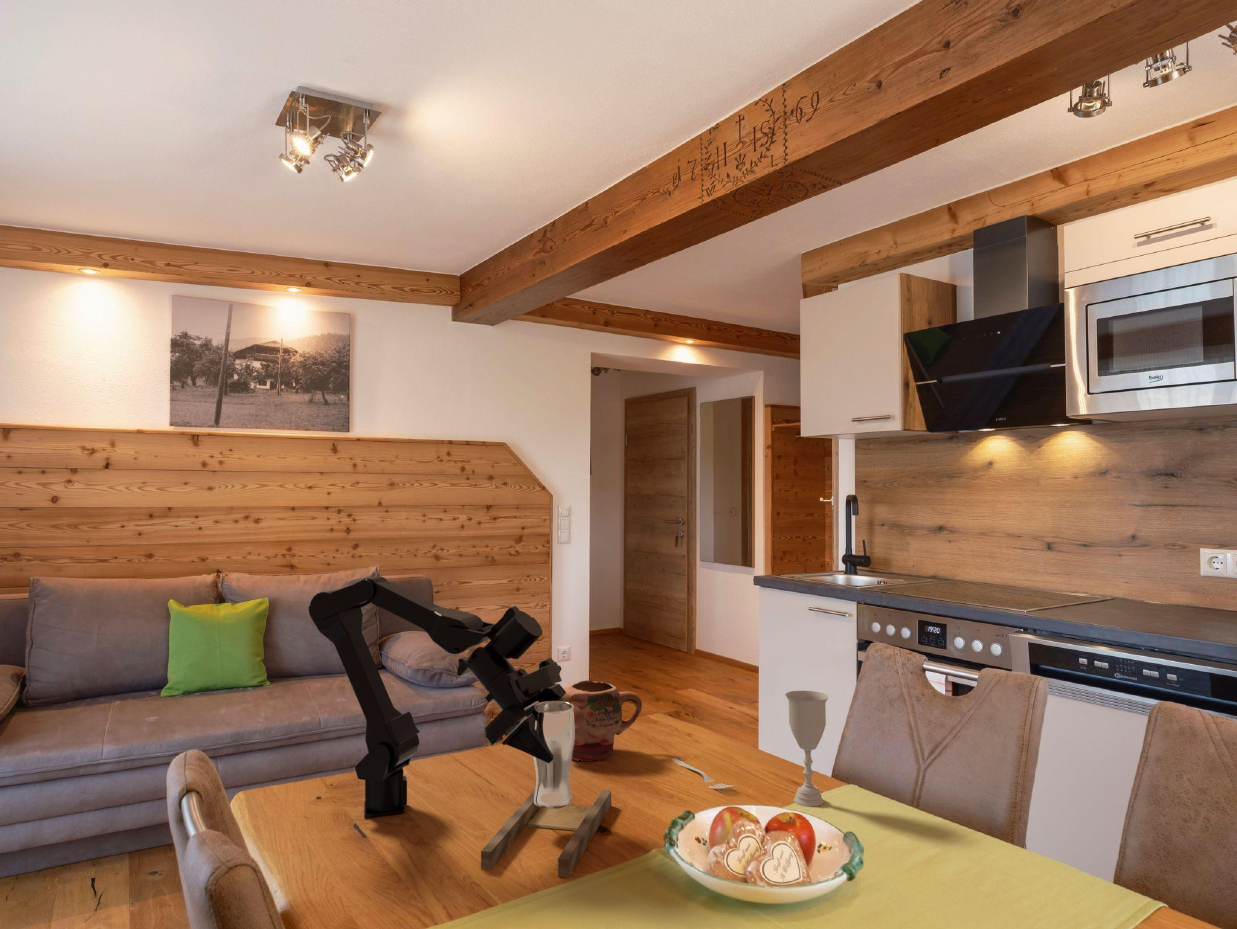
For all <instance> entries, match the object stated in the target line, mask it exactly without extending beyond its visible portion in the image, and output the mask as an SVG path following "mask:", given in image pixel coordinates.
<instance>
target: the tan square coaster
mask: <svg viewBox="0 0 1237 929" xmlns="http://www.w3.org/2000/svg"><path fill="white" fill-rule="evenodd" d="M592 806H593V805H580V804H571V803H570V804H569V805H568V806H566V807H563V808H559V809H544V808H540V809H539V810H538V811H537V813H536V814H535V815H534V816H533V817H532V819H531V820H530V821H529V822H528V824H527V826H526V827H528V828H529V827H530V828H531V827H533V828H540V829H541V828H542V829H551V830H563V831H575V832H576V830H577V829H578V827H579V825H580V824H581V822H582V821H583V819H584V818H585V816H586V815H587V813H588V812H589V810H590V809H591V807H592Z"/></svg>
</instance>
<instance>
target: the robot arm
mask: <svg viewBox="0 0 1237 929" xmlns="http://www.w3.org/2000/svg"><path fill="white" fill-rule="evenodd" d="M370 604H372V605H374V606H376V607H379V609H383V610H384V611H385V612H388V613H390V614H392V615H394V616H396V617H398V618H399V619H402V620H404V621H406V622H408V623H410V624H411V625H413V626H415V627H418V628H419V629H421V630H422V631H424V632H425V633H427V635H428V636H429V638H430V639H431V641H432V642H433V643H434V644H435V645H437V646H438V647H440V648H441V649H442V650H444V651H445V652H446V653H448V654H452V655H459V654H462V653H464V652H466V651H469V650H471V649H473V648H475V649H474V650H473V651H472V652H471V653H470V654H469V655H468V656H463V657H461V658H459V659H458V666H457V671H456V675H457V676H458V677H461V676H464V675H466V674H469V673H472V674H473V676H474V677H475V679H477V681H478V682H479V684H480V685H481V686H482V687H483V688H484V690H485V691H486V692H487V693H488V694H487V695H486V696H485V697H484V698H485V700H486V701H487V702H488V703H491V702H494V703H495V704H496V705H497V706H498V708H499V709H500V710H501V711H500V712H499V713H497V715H496V716H495V717H494V719H492V720H491V721H490V723H488V724H487V726H486V727H484V738H485V739H486V740H487V742H488V743H489V745H490V746H491V747H493V746H495V745H497V744H498V743H500V742H501V741H502V740H503V741H502V742H501V744H502V746H509V747H511V748H514V749H515V750H519V751H521V752H523V753H525V754H528V755H530V756H532V757H533V756H534V757H536V758H538V759H540V760H542V761H544V762H546V763H550V762H551V761H552V760H553V756H552V755H551V753H550V751H549V749H548V748H547V746H546V745H545V743H544V742H543V740H542V739H541V737H540V736H539V734H538V733H537V731H536V730H535V725H534V715H532V711H533V706H534V705H535V704H537V703H541V702H546V701H562V697H563V696H564V695H565V694H566V691H565V690H564V689H563V688H564V687H563V686H562V685H561V684H560V682H562V681H563V680H562V677H561V671H562V669H563V668H562V666H560V665H559V664H558V663H557V661H555V660H553V659H552V657H548V658H546V659H545V660H542V661H540V662H539V663H538V669H536V670H534V671H532V672H530V673H528V672H527V671H526V670H525V669H524V668H519V669H516V668H515V667H514V666H513V664H512V663H511V662H510V661H509V660H510V659H513V660H519V659H520V658H521V657H522V656H523V655H524V654H525V653H526V652H527V651H528V650H529V649H530V648H531V647H532V646H533V645H534V644H535V643H536V642H537V641H538V640H539V638H541V636H542V635H543V629H542V626H541V625H540V623H539V622H538V621H537V619H536V618H535V617H533V616H531V615H530V614H528V613H527V612H525V611H522V610H520V609H519V607H517V606H516V605H513V606H510V607H509V608H508V609H507V610H506V611H505V612H504V613H503V616H501V618H500V619H499V620H498V621H497V622H496V623H491V622H488V621H487V622H486V621H483V619H482V618H481V617H479V616H478V615H476V614H473V613H471V612H466V611H463V610H459V609H452V608H448V607H443V606H442V607H441V606H440V605H437V604H435V603H433V602H431V601H429V600H427V599H425V598H422V597H421V596H418V595H417V594H415V593H412V592H411V591H408V590H407V589H404V587H403V588H402V587H401V586H398V585H396V584H395V583H393V582H391V581H389V580H388V579H387V578H385V577H383V576H382V575H381V576H380V575H376V576H371V577H365V578H363V579H361V580H360V581H358V582H356V583H354V584H351V585H348V586H345V587H342V588H334V589H331V590H326V591H321V592H319V593H316V594H315V595H314V596H313V597H312V598H311V601H310V603H309V606H308V614H309V616H310V617H309V618H310V619H311V621H312V622H313V624H314V626H315V627H316V629H317V630H318V632H319V633H320V634H321V635H322V636H324V637H325V638H326V639H327V640H328V641H330V642H331V643H332V644H333V645H334V647H335V649H336V650H335V651H336V652H337V655H338V656H339V660H340V661H341V664H342V666H343V669H344V671H345V674H346V676H347V679H348V681H349V683H350V685H351V687H352V691H353V693H354V695H355V698H356V699H357V702H358V704H359V707H360V709H361V712H362V714H363V716H364V719H365V739H364V740H365V741H364V742H365V745H366V749H367V753H366V755H364V757H363V758H362V759H361V760H360V761H359V762H358V763H357V764H356V765H355V766H354V769H355V773H356V777H357V779H358V780H364V803H363V805H364V806H363V816H364V818H372V817H373V818H374V817H379V816H380V817H381V816H387V815H396V814H403V813H405V806H407V805H408V779H407V776H406V775H404V768H406V767H408V766H409V765H410V763H411V760H412V757H413V756H415V754H416V753H417V751H418V749H419V745H420V738H419V735H418V734H419V733H421V731H420V730H419V728H417V726H416V724H415V722H414V718H413V716H412V713H411V712H410V711H406V712H404V713H403V714H402V712H400V711H399V710H397V709H396V708H395V706H394V705H393V702H392V700H391V698H390V695H389V693H388V690H387V688H386V685H385V684H384V681H383V679H382V677H381V674H380V672H379V670H378V667H377V664H376V662H375V660H374V658H373V656H372V653H371V650H370V649H369V646H368V644H367V642H366V639H365V637H364V635H363V630H362V629H363V619H364V618H363V616H364V615H363V611H362V610H363V609H362V608H364V607H366V606H369V605H370ZM487 641H489V642H488V643H486V644H485V645H484V646H480V644H482V643H485V642H487ZM503 736H505V739H504V738H503Z"/></svg>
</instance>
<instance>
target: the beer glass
mask: <svg viewBox="0 0 1237 929" xmlns="http://www.w3.org/2000/svg"><path fill="white" fill-rule="evenodd" d="M532 715H534V725H535V730H536V731H537V733H538V734H539V736H540V737H541V739H542V740H543V742H544V743H545V745H546V746H547V748H548V749H549V751H550V753H551V755H552V756H553V760H552V761H551V762H550V763H546V762H544V761H542V760H540V759H538V758H536V757H534V756H532V758H533V763H534V769H535V775H536V776H535V777H536V778H535V779H536V780H535V782H536V783H535V789H534V790H535V795H534V804H535V805H536V806H538V807H540V808H544V809H559V808H563V807H566V806H568V805H569V804H570V805H571V803H572V801H573V797H572V796H573V795H572V791H571V790H572V789H571V784H570V782H571V781H570V773H571V766H572V760H573V759H572V756H573V750H574V742H575V720H574V706H573V705H572V704H571V703H568V702H563V701H546V702H541V703H537V704H535V705H534V706H533V711H532Z"/></svg>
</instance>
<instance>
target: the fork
mask: <svg viewBox="0 0 1237 929" xmlns="http://www.w3.org/2000/svg"><path fill="white" fill-rule="evenodd" d="M673 760H674V761H673ZM671 761H672V762H673V763H675V764H677V765H679V766H681V767H683V768H685V769H688V770H691V771H694V772H697V773H699V774H700V775H701V776H702V777H703V778H704V783H710V782H715V781H716V780H715V779H713V778H711V777H709V775H707V774H706V773H705V772H704V771H702V770H700V769H698V768H695V767H694V766H691V765H690V764H688V763H685V762H684V761H682V760H681V761H680V759H679V760H678V758H674V757H673V758H671ZM708 787H709V788H711V789H715V790H723V789H730V788H734V787H735V788H736V787H737V785H733V784H731V785H730V784H724V783H717V784H714V785H712V786H710V785H709V786H708Z"/></svg>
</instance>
